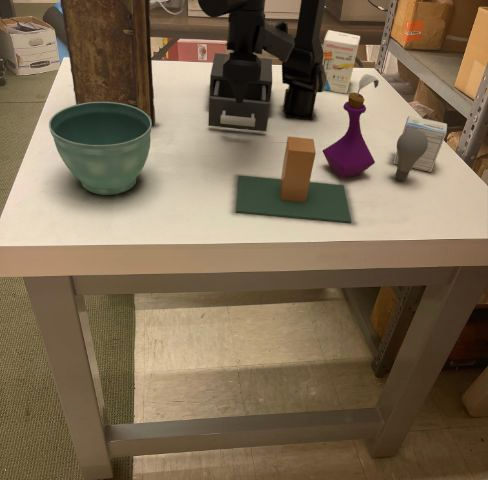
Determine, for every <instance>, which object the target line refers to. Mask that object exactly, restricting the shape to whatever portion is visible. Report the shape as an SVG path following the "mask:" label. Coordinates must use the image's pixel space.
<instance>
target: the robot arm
mask: <svg viewBox="0 0 488 480" xmlns="http://www.w3.org/2000/svg"><path fill="white" fill-rule="evenodd" d="M326 2H327V1H326V0H300V5H299V12H298V19H297V26H296V33H295V36H294V37H293V35H292V34H291V33H289V24H288V23H287V22H285V21H284V20H282V19H280V20H279V21H277V22H276V23H275V24H273V23H271V24H270V23H268V22H266V13H265V7H266V6H265V5H266V0H197V3H198V6H199V8H200V9H201V11H202V12H203V13H204V14H205V16H208V17H209V18H219V17H222V16H225V15H228V19H227V23H228V30H227V41H226V50H227V51H231V52H229V53H227V54H228V55H227V56H226V57H225V58H224V62H223V75H222V77H224V78H227V79H229V81H230V84H231V87H232V90H233V93H234V96H235V99H236V102H237V103H239V104H242V103H243V100H244V96H245V93H246V89H247V86H248V83H249V81H256V82H257V81H260V75H261V61H260V58H261V57H259V56H258V55H263V51H264V52H266V53H267V54H269V55H271V56H273V57H275V58H277V59H278V60H279V61H280V62H281V78H282V79H281V81H282V84H284V85H288V88H285V90H284V98H283V99H284V100H283V106H282V108H283V109H282V110H283V112H284V116H285V117H286V118H289V119H290V118H291V119H299V120H300V119H301V120H309V121H310V120H311V121H312V120H314V109H315V104H316V98H317V93H323V92H324V90H323V89H324V86H325V84H326V80H327V77H326V74H325V71H324V67H323V65H322V63H323V55H324V52H323V45H322V42H321V39H320V34H321V29H322V24H323V18H324V12H325V6H326Z"/></svg>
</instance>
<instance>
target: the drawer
mask: <svg viewBox="0 0 488 480" xmlns="http://www.w3.org/2000/svg"><path fill="white" fill-rule="evenodd" d="M208 99H209V100H208V121H207V125H208V127H216V128H225V129H236V130H244V131H245V130H246V131H256V132H266V133H267V130H268V129H267V128H268V120H269V112H270V106H271V105H270V104H271V102H270V103H269V102H266V85H264V84H255V83H248V86H247V89H246V93H245V96H244V100H243V103H242V104H239V103H237V102H236V99H235V96H234V93H233V90H232V87H231V84H230V81H226V80H216V85H215V90H214V96H210V95H209V98H208Z"/></svg>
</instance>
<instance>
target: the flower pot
mask: <svg viewBox="0 0 488 480" xmlns="http://www.w3.org/2000/svg"><path fill="white" fill-rule="evenodd" d="M152 127H153V125H152V121H151V119H150V117H149V116H148V115H147V114H146V113H145V112H143V111H142V110H140V109H138V108H136V107H133V106H130V105H126V104H122V103H114V102H89V103H83V104H78V105H76V104H74V105H71V106H68V107H64V108H63V109H61V110H59V111H57V112H56V113H54V114H53V115H52V116H51V117H50V119H49V121H48V128H49V132H50V134H51V136H52V137H53V142H54V145H55V148H56V150H57V152H58V154H59V157H60V158H61V160H62V162H63V163H64V165H65V166H66V168H67V169H68V170H69V172H70V173H71V174H72V175H73V176H74V177H76V178H77V179H78V180H79V181H80V184H81V186H82V188H84V189H85V190H86V191H88V192H90V193H93V194H96V195H103V196H112V195H118V194H123V193H125V192H127V191H129V190H130V189H132V188H133V187H135V185H136V183H137V177H138V176H139V175H140V173H141V172H142V170H143V169H144V167H145V165H146V162H147V159H148V157H149V153H150V148H151V137H152V136H151V132H152Z"/></svg>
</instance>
